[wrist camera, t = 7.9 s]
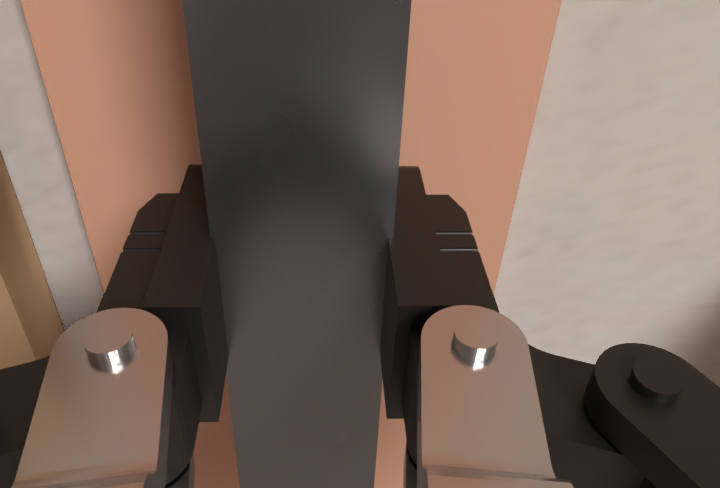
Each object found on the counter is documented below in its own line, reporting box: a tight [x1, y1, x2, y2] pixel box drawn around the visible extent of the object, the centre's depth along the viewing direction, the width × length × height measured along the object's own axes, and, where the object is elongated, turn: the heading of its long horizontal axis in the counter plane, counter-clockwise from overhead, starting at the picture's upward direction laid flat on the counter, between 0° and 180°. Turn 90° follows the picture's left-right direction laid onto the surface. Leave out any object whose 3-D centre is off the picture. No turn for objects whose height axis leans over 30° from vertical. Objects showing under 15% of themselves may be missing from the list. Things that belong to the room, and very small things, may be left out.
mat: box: [20, 0, 562, 488], centre depth 12 cm, size 26×9×1 cm, turn 178°
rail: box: [182, 0, 412, 488], centre depth 10 cm, size 23×2×2 cm, turn 178°
